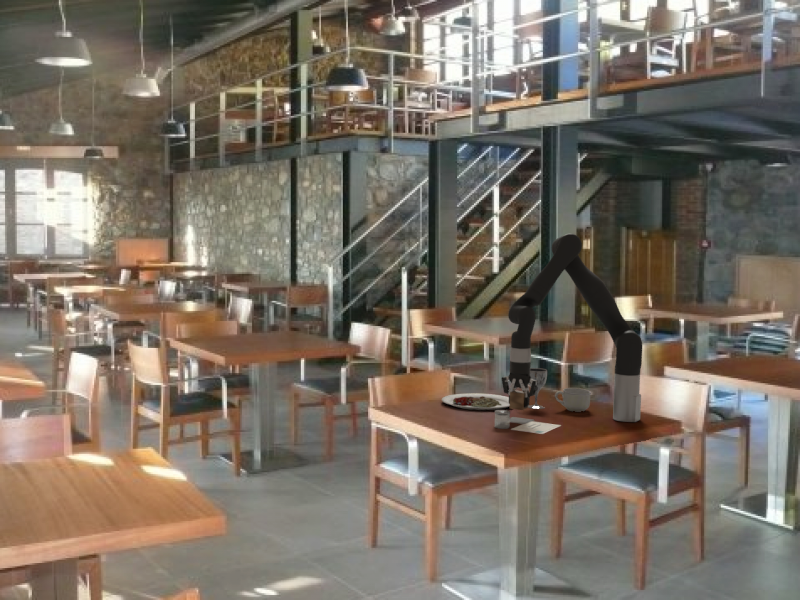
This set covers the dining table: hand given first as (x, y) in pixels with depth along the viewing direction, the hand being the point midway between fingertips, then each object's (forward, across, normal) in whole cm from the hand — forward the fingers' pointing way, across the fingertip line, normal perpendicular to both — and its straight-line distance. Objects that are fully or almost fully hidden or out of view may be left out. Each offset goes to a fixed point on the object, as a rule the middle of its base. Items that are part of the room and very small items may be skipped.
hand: (518, 406), depth 332 cm
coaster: (+6, 0, 0) cm, 6 cm away
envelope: (+6, -10, +7) cm, 14 cm away
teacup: (+6, -8, -32) cm, 33 cm away
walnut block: (+1, 0, 0) cm, 1 cm away
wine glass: (+6, +6, -29) cm, 30 cm away
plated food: (+6, +27, -21) cm, 35 cm away
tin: (+6, 0, +14) cm, 15 cm away
